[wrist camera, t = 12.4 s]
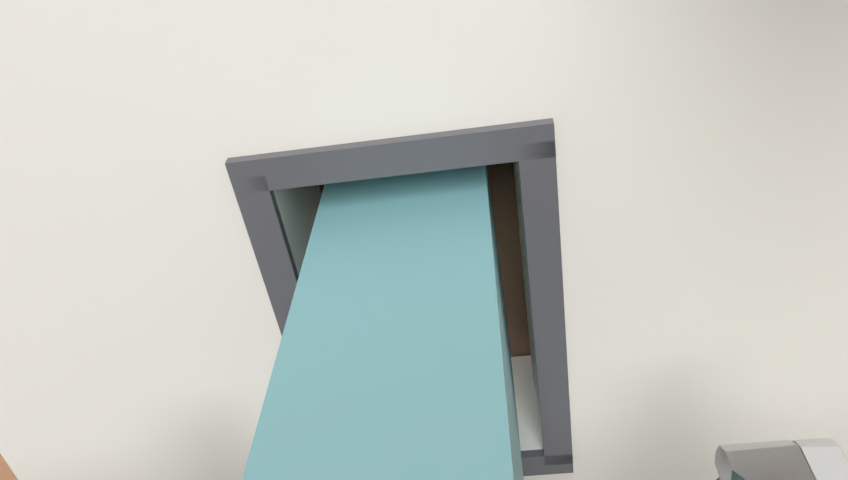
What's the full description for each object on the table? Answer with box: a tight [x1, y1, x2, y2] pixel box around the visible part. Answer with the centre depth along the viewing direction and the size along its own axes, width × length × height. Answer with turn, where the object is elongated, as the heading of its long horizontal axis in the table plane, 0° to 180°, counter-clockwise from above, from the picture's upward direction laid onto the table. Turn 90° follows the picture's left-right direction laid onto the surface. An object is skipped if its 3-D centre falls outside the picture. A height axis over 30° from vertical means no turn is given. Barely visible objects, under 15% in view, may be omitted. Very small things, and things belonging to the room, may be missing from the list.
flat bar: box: [242, 165, 524, 480], centre depth 13 cm, size 3×6×9 cm, turn 9°
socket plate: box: [0, 0, 848, 480], centre depth 16 cm, size 20×18×3 cm
